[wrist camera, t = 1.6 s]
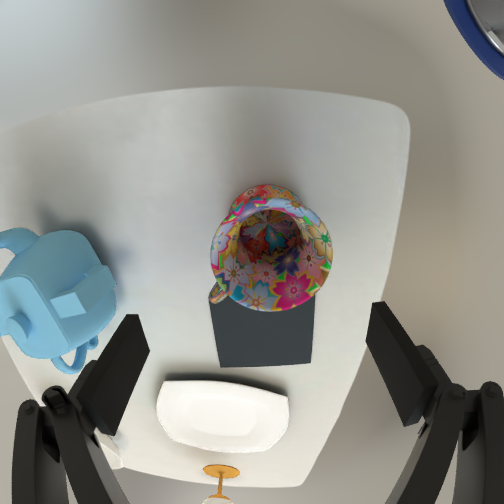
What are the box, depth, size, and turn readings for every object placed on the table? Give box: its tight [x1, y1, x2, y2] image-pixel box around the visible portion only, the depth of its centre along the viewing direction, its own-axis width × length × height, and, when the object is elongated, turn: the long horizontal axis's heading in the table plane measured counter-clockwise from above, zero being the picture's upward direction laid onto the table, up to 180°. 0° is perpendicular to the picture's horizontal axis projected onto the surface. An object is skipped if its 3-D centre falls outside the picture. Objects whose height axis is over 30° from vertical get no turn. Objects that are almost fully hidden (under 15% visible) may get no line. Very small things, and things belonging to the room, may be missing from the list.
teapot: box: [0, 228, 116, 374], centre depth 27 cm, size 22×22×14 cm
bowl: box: [94, 427, 123, 469], centre depth 47 cm, size 20×20×6 cm
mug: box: [209, 185, 333, 312], centre depth 27 cm, size 12×9×11 cm
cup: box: [202, 465, 240, 504], centre depth 46 cm, size 9×9×16 cm
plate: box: [156, 380, 289, 453], centre depth 43 cm, size 23×23×2 cm
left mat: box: [208, 294, 315, 367], centre depth 36 cm, size 13×12×1 cm
